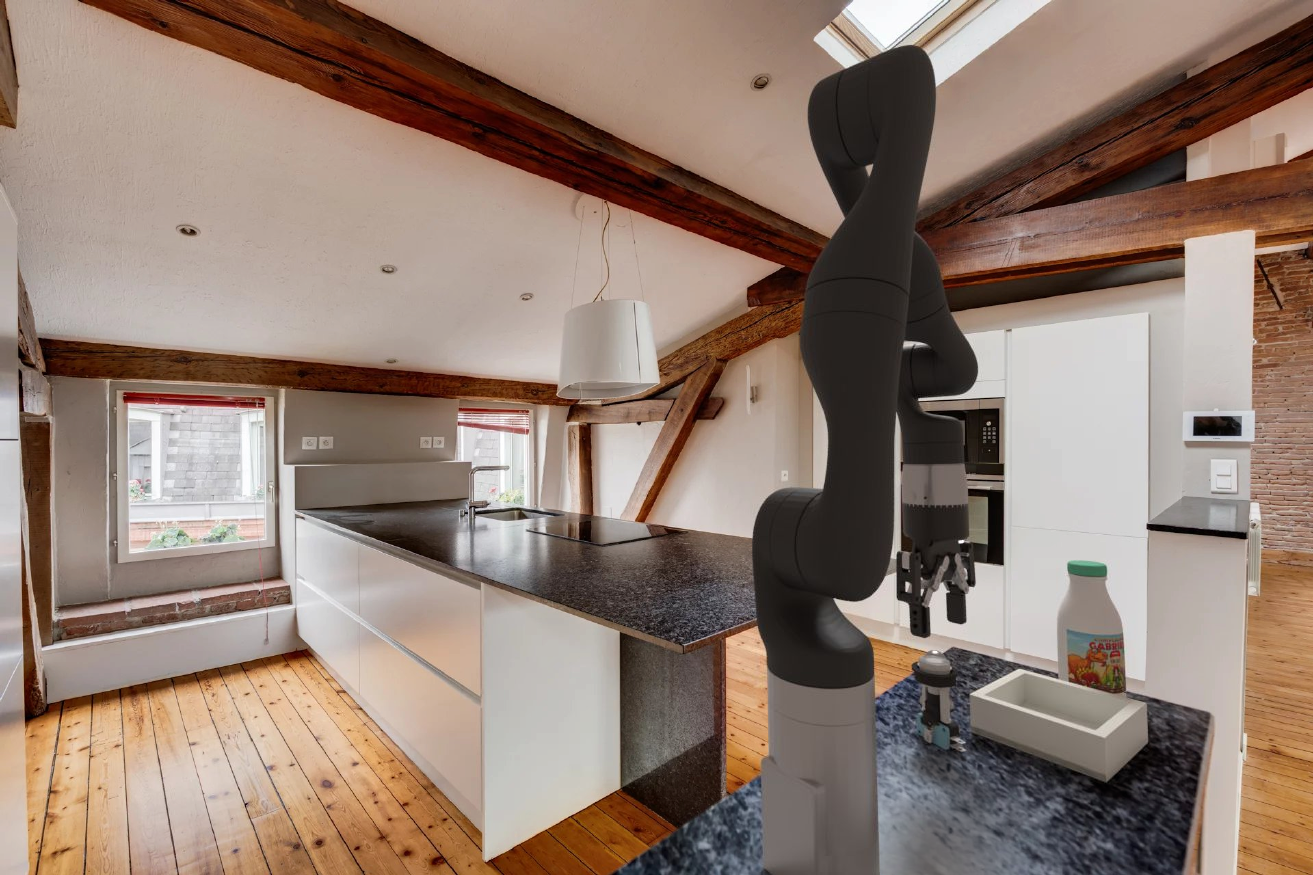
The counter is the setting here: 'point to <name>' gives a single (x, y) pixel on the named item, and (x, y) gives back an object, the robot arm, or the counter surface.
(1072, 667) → the milk bottle
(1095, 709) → the bin
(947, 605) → the robot arm
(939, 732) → the push button
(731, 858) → the counter surface
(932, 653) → the ball stud post
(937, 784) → the counter surface
